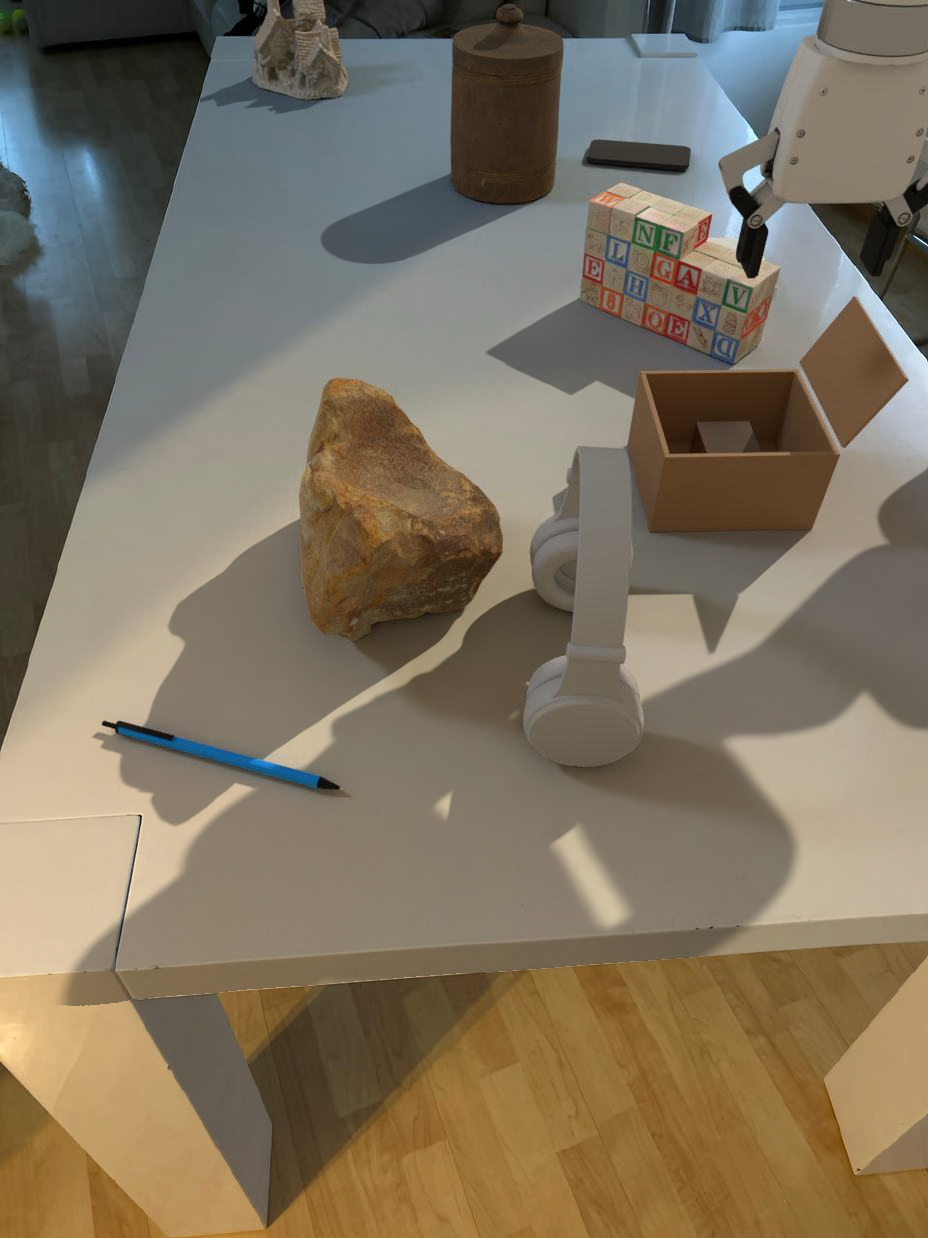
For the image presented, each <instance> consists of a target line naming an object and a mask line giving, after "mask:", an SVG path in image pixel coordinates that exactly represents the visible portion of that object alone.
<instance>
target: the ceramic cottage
mask: <svg viewBox="0 0 928 1238" xmlns="http://www.w3.org/2000/svg"><path fill="white" fill-rule="evenodd" d="M291 3H292V13H293V16H294V18H287V19H285V18H284V17H283V16H282V15H281V9H280V2H279V0H266V5H267V6H266V7H267V12H266V15H265V17H264V20H263V23H262V25H261V26H260V27H259V30H258V32H257V33H256V34H255V37H254V38H252V39H251V42H253V46H254V50H253V53H254V59H255V62H254V63H253V67H252V83H253V84H254V85H256V87H258V88H259V89H263V90H268V91H271V92H273V93H278V94H282V95H287V96H288V97H292V98H294V99H300V100H305V101H308V100H309V101H311V100H318V99H319V100H320V99H321V98H322V99H323V98H324V99H325V98H326V99H329V98H331V99H334V98H336V99H337V98H338V97H341V96H343V95H344V94H345V92H346V89H347V87H348V85H349V78H348V72H347V69H346V68H345V66H344V65H343V64H342V63H341V61H342V60H343V55H342V48H341V43H340V40H339V39H340V37H339V32H338V29H337V27H333V28H332V27H331V28H329V25H326V24H325V22H326V18H327V17H326V9H325V5H324V0H292V1H291Z"/></svg>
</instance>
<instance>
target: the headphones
mask: <svg viewBox="0 0 928 1238" xmlns="http://www.w3.org/2000/svg"><path fill="white" fill-rule="evenodd" d="M566 484H567V488H566V492H565V495H564V497H563V501H562V504H561V507H560V509H559V510H558V511H557V512H556V513H555V514H553V515H552V516H550V517H548V518H547V519H545V520H544V521H543V522H542V523H540V525H539V526H538V527H537V529H535V532H534V533H533V536H532V539H531V541H530V547H529V560H530V564H531V579H532V583H533V587H534V588H535V591H536V592H537V595H539V596H540V598H541V599H542V600H544V601H545V602H546V603H547V604H549V605H551V606H553V607H554V608H556V609H558V610H559V609H560V610H562V611H566V612H572V626H571V634H570V635H571V636H570V641H569V642H567V644H566V649H565V655H561V656H557V657H555V658H552V659H550V660H548V661H546V662H544V664H542V665H541V666H539V667H538V668H537V669H536V670H535V671H534V673H533V674H532V675H531V678H530V680H529V682H528V686H527V691H526V703H525V707H524V712H523V716H522V719H523V721H522V722H523V733H524V737H525V739H526V741H527V742H528V744H529V745H530V747H531V748H532V749H533V750H534V751H536V752H537V753H538V754H540V755H541V756H542V757H543V758H545V759H547V760H549V761H552V762H554V763H556V764H559V765H562V766H563V765H564V766H567V767H568V766H569V767H574V766H577V767H576V768H591V767H599V766H605V765H609V764H612V763H615V762H617V761H620V760H621V759H623V758H624V757H626V756H627V755H628V754H630V753H631V752H633V751H634V750H635V749H636V748H637V747H638V746H639V744H640V742H641V740H642V739H643V735H644V726H645V717H644V716H645V715H644V711H643V706H642V704H641V702H640V698H641V696H640V689H639V685H638V682H637V679H636V677H635V675H634V674H633V673H632V671H631V670H630V669H629V668H628V667H627V666H626V665H624V664H625V662H626V657H627V651H626V646H625V645H624V640H625V633H626V632H625V630H626V624H627V623H626V622H627V613H628V603H629V589H630V583H631V580H632V562H633V555H634V549H633V542H632V540H633V539H632V538H633V489H632V488H633V487H632V484H633V483H632V473H631V464H630V458H629V455H628V452H627V450H626V449H625V448H621V447H605V446H587V445H584V446H583V445H578V446H577V447H576V448H575V451H574V454H573V457H572V461H571V467H568V468H567V471H566Z"/></svg>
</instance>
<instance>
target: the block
mask: <svg viewBox="0 0 928 1238" xmlns="http://www.w3.org/2000/svg"><path fill="white" fill-rule="evenodd" d="M701 453H761V450H760V447H759V445H758V442H757V440H756V437H755V435H754V432H753V430H752V427H751V425H750V422H749V421H721V422H696V425H695V429H694V433H693V438H692V442H691V446H690V451H689V454H701Z"/></svg>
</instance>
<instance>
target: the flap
mask: <svg viewBox="0 0 928 1238" xmlns="http://www.w3.org/2000/svg"><path fill="white" fill-rule="evenodd" d="M798 362H799V365H800V367H801V368H802V371H803V372H804V375H805V376H806V378H807V381H808V383H809V384H810V387H811V389H812V390H813V392H814V395H815V397H816V399H817V401H818V403H819V404H820V406H821V409H822V411H823V412H824V415H825V416H826V418H827V421H828V422H829V425H830V426H831V429H832V430H833V433H834V434H835V437H836V439H837V441H838V443H839V444H840V447H841V448H843V449H846V448H847V447H848V446H849V444H851V443H852V442H853V441H854V439H855V438H857V436H858V435H859V434H860V433H862V431H863V430H864V429H865V428H866V427H867V426H868V425H869V424H870V422H872V420H873V419H874V418H875V417H876V416H877V415H878V414H879V413H880V412H881V411H882V410H883V409H884V408H885V406H886V405H887V404H888V403H889V402H890V401H891V400H892V399H893V398H894V397H895V396H896V394H898V392H900V391H901V389H903V387H904V386H905V385H906V384H907V383H908V382H909V381H910V380H909V377H908V376H907V374H906V373H905V371H904V369H903V368H902V366H901V365H900V363H899V361H898V360H897V359H896V357H895V355H894V353H893V352H892V350H891V348H890V347H889V345H888V344H887V342H886V341H885V339H884V338H883V336H882V334H881V333H880V332H879V330H878V328H877V326H876V325H875V324H874V321H873V320H872V318H871V317H870V315H869V313H868V312H867V310H866V309H865V307H864V306H863V304H862V302H861V301H860V299H859V297H857V296H856V295H853V296H852V298H851V299H850V300H849V301H848V302H847V304H846V305H845V306H844V307H843V308H842V310H841V311H840V312H839V313H838V315H837V316H836V317H834V319H833V320H832V322H831V323H830V324H829V325H828V327H827V328H826V329H825V330H824V331H823V332H822V334H821V335H820V336H819V337H818V339H817V340H816V341H815V342H814V344H813V345H812V346H810V348H809V349H808V351H807V352H805V354H804V355H803V357H802V358H801V359H800V360H799V361H798Z"/></svg>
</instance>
